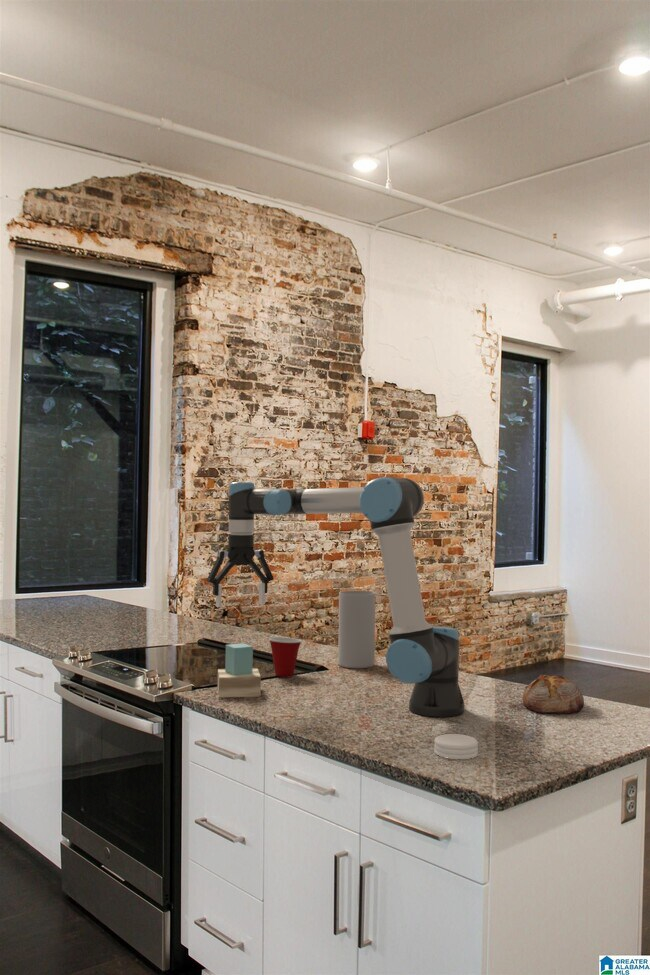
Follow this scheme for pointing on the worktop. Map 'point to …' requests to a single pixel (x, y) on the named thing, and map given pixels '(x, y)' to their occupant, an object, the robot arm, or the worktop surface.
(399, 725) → the worktop surface
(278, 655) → the plastic cup
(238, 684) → the birch block
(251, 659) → the teal block
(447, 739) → the coaster
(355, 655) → the cylinder vase
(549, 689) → the bread
